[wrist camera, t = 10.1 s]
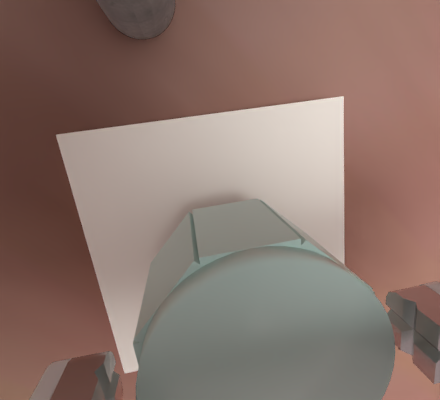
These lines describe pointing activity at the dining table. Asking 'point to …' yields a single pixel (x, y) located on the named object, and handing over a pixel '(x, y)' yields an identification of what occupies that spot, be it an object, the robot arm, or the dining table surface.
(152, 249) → the post stand
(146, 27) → the hip flask
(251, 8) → the dining table surface
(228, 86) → the dining table surface
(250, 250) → the cap
